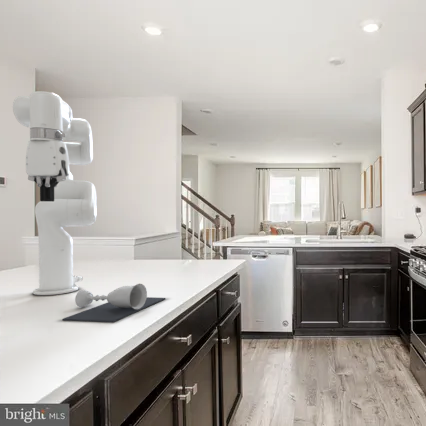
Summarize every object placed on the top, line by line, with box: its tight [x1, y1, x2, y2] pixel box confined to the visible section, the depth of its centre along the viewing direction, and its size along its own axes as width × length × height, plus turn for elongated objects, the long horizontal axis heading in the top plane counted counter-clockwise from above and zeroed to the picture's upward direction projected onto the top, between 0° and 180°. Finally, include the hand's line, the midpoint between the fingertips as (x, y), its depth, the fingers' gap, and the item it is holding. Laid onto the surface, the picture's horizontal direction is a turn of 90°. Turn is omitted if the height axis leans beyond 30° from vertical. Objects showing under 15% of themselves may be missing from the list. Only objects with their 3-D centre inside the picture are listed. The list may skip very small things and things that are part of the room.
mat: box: [62, 296, 166, 323], centre depth 105 cm, size 24×14×1 cm, turn 173°
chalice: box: [74, 283, 148, 309], centre depth 104 cm, size 7×7×18 cm
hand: (47, 201), depth 106 cm, fingers closed
